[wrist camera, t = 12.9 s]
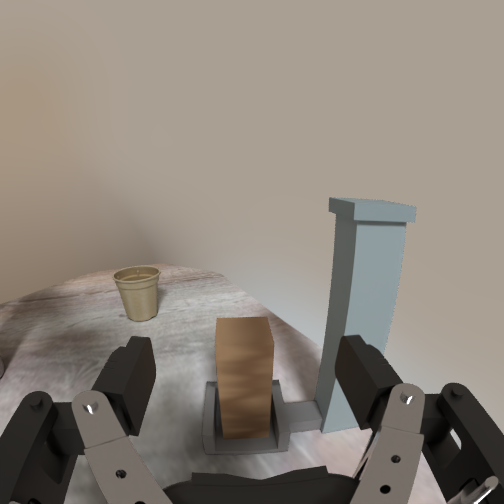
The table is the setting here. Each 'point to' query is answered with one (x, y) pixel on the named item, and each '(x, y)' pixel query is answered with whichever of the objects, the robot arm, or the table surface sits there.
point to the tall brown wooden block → (244, 375)
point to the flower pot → (138, 291)
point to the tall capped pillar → (334, 324)
